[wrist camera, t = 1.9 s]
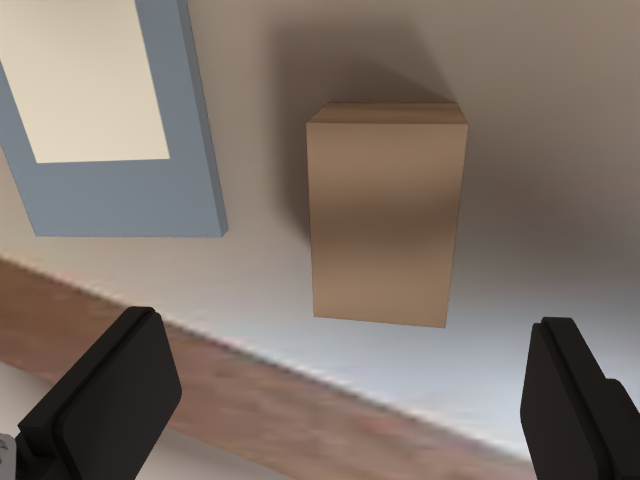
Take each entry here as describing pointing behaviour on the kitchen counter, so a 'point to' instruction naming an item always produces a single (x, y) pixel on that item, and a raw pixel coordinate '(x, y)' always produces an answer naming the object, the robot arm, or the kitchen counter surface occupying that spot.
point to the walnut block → (384, 209)
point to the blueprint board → (107, 119)
